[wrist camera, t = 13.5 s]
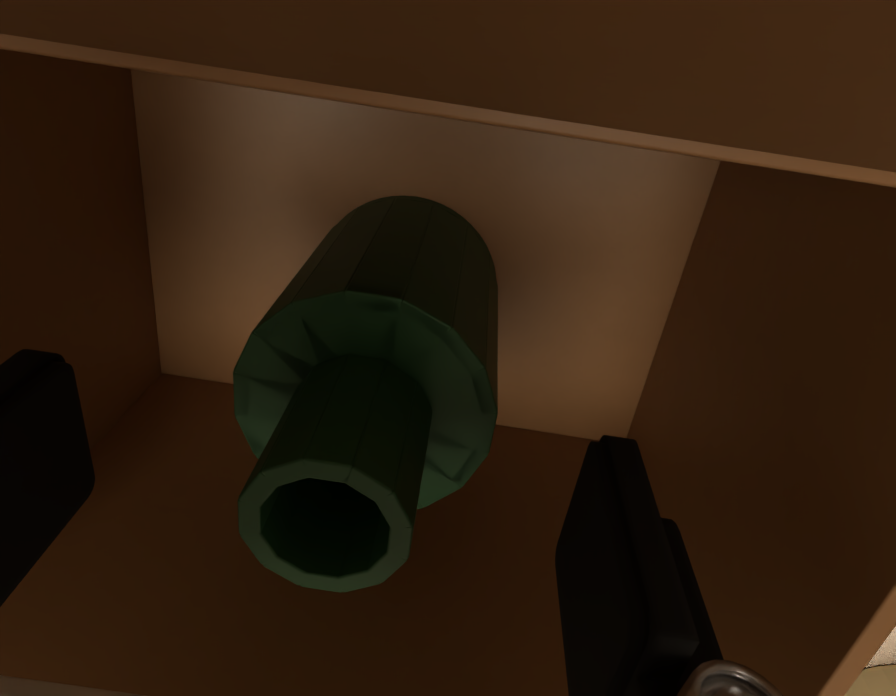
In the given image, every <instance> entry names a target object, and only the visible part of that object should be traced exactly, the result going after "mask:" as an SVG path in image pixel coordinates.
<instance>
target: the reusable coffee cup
mask: <svg viewBox="0 0 896 696" xmlns="http://www.w3.org/2000/svg"><path fill="white" fill-rule="evenodd" d="M844 696H896V665H887V666H878V667H873V668H868V669H863V671H862V672H861V674H860V675H859V676H858V678H857V679H856V680H855V682H854V683H853V684H852V686H851V687H850V689H849V690H848V691H847V693H846V694H845V695H844Z"/></svg>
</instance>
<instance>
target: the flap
mask: <svg viewBox="0 0 896 696" xmlns="http://www.w3.org/2000/svg"><path fill="white" fill-rule="evenodd" d="M0 34H6V35H13V36H19V37H26V38H32V39H38V40H45V41H51V42H58V43H64V44H71V45H77V46H84V47H90V48H96V49H103V50H109V51H116V52H122V53H129V54H135V55H142V56H148V57H154V58H161V59H167V60H174V61H180V62H187V63H193V64H200V65H206V66H212V67H219V68H225V69H232V70H238V71H245V72H251V73H258V74H264V75H270V76H277V77H283V78H290V79H296V80H303V81H309V82H316V83H322V84H328V85H335V86H341V87H348V88H354V89H361V90H367V91H374V92H380V93H386V94H393V95H399V96H406V97H412V98H419V99H425V100H432V101H438V102H444V103H451V104H457V105H464V106H470V107H477V108H483V109H490V110H496V111H502V112H509V113H515V114H522V115H528V116H535V117H541V118H548V119H554V120H560V121H567V122H573V123H580V124H586V125H593V126H599V127H606V128H612V129H618V130H625V131H631V132H638V133H644V134H651V135H657V136H664V137H670V138H677V139H683V140H689V141H696V142H702V143H709V144H715V145H722V146H728V147H735V148H741V149H747V150H754V151H760V152H767V153H773V154H780V155H786V156H793V157H799V158H805V159H812V160H818V161H825V162H831V163H838V164H844V165H851V166H857V167H863V168H870V169H876V170H883V171H889V172H896V0H0Z"/></svg>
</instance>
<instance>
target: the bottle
mask: <svg viewBox="0 0 896 696" xmlns="http://www.w3.org/2000/svg"><path fill="white" fill-rule="evenodd" d="M233 391H234V414H235V418H236V420H237V422H238V424H239V426H240V428H241V430H242V432H243V434H244V436H245V438H246V440H247V442H248V444H249V446H250V448H251V450H252V452H253V454H254V455H255V456H256V457H257V458H258V459H259V460H258V461H257V463H256V465H255V467H254V469H253V471H252V473H251V475H250V476H249V478H248V480H247V482H246V484H245V486H244V488H243V489H242V491H241V493H240V495H239V498H238V526H239V533H240V536H241V538H242V539H243V540H244V542H245V543H246V545H247V546H248V547H249V549H250V550H251V551H252V553H253V554H254V555H255V557H256V558H257V559H258V561H259V562H260V564H263V566H264V567H266V568H267V569H269V570H271V571H273V572H275V573H276V574H278V575H280V576H282V577H284V578H285V579H287V580H289V581H291V582H293V583H294V584H296V585H300V586H301V587H307V588H313V589H320V590H326V591H333V592H339V593H341V592H349V591H353V590H357V589H362V588H366V587H370V586H374V585H379V584H381V583H383V582H384V581H385V580H386V579H388V578H389V577H390V576H391V575H392V574H393V573H394V572H395V571H396V570H397V569H399V568H400V567H401V566H402V565H403V564H404V563H405V562H406V561H407V559H408V558H409V555H410V549H411V543H412V536H413V530H414V524H415V518H416V512H417V509H421V508H423V507H427V506H429V505H431V504H432V503H434V502H436V501H438V500H440V499H442V498H444V497H445V496H447V495H449V494H451V493H453V492H455V491H457V490H458V489H460V488H461V487H463V486H464V485H465V483H466V482H467V481H468V480H469V478H470V477H471V476H472V475H473V473H474V472H475V471H476V470H477V468H478V467H479V466H480V465H481V463H482V462H483V461H484V460H485V458H486V457H487V456H488V454H489V452H490V448H491V443H492V438H493V433H494V429H495V424H496V419H497V415H498V285H497V281H496V273H495V267H494V263H493V260H492V257H491V254H490V252H489V250H488V247H487V245H486V243H485V242H484V240H483V239H482V237H481V236H480V234H479V233H478V232H477V231H476V229H475V228H474V227H473V226H472V225H471V224H470V223H469V222H468V221H467V220H466V219H465V218H463V217H462V216H461V215H460V214H458V213H457V212H455V211H454V210H452V209H450V208H448V207H446V206H445V205H443V204H441V203H438V202H435V201H432V200H429V199H425V198H421V197H415V196H389V197H384V198H379V199H376V200H373V201H370V202H367V203H365V204H363V205H361V206H359V207H357V208H356V209H354V210H353V211H351V212H350V213H348V214H347V215H346V216H345V217H344V218H343V219H342V220H340V221H339V223H338V224H337V225H335V226H334V227H333V228H332V229H331V230H330V231H329V232H328V234H327V235H326V236H325V238H324V239H323V240H322V241H321V243H320V244H319V245H318V247H317V248H316V249H315V251H314V252H313V253H312V254H311V256H310V257H309V258H308V260H307V261H306V262H305V264H304V265H303V266H302V267H301V269H300V270H299V271H298V273H297V274H296V275H295V277H294V278H293V279H292V280H291V282H290V283H289V284H288V286H287V287H286V288H285V289H284V291H283V292H282V293H281V295H280V296H279V297H278V299H277V300H276V301H275V302H274V304H273V305H272V306H271V308H270V309H269V310H268V312H267V313H266V314H265V315H264V317H263V318H262V319H261V321H260V322H259V323H258V325H257V326H256V327H255V328H254V330H253V331H252V332H251V334H250V336H249V338H248V340H247V343H246V345H245V347H244V349H243V351H242V353H241V355H240V357H239V359H238V361H237V363H236V365H235V367H234V372H233Z"/></svg>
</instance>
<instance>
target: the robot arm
mask: <svg viewBox="0 0 896 696" xmlns="http://www.w3.org/2000/svg"><path fill="white" fill-rule="evenodd" d="M94 484H95V473H94V468H93V463H92V458H91V453H90V448H89V443H88V438H87V433H86V428H85V423H84V418H83V413H82V408H81V403H80V398H79V393H78V388H77V383H76V378H75V373H74V370H73V367H72V366H71V365H70V364H68V363H66V362H65V359H64V358H63V356H62V355H60V354H58V353H52V352H45V351H38V350H31V349H22V350H20V351H18V352H17V353H15V354H14V355H13V356H11V357H10V358H9V359H7V360H6V361H5V362H3V363H2V364H1V365H0V607H1V606H2V604H3V603H4V602H5V601H6V599H7V598H8V597H9V596H10V594H11V593H12V592H13V591H14V589H15V588H16V587H17V586H18V585H19V583H20V582H21V581H22V580H23V578H24V577H25V576H26V575H27V573H28V572H29V571H30V570H31V568H32V567H33V566H34V565H35V563H36V562H37V561H38V560H39V558H40V557H41V556H42V555H43V553H44V552H45V551H46V550H47V548H48V547H49V546H50V545H51V543H52V542H53V541H54V540H55V538H56V537H57V536H58V535H59V534H60V532H61V531H62V530H63V529H64V527H65V526H66V525H67V524H68V522H69V521H70V520H71V519H72V517H73V516H74V515H75V514H76V512H77V511H78V510H79V509H80V507H81V506H82V505H83V504H84V502H85V501H86V500H87V499H88V497H89V496H90V494H91V492H92V490H93V487H94ZM555 569H556V578H557V588H558V598H559V607H560V617H561V626H562V636H563V646H564V655H565V665H566V674H567V684H568V694H569V696H783V695H782V693H781V692H780V691H779V689H777V688H776V687H775V686H774V685H773V684H772V683H771V682H769V681H768V680H767V679H766V678H765V677H764V676H762V675H761V674H759V673H757V672H756V671H754V670H752V669H751V668H749V667H747V666H745V665H742V664H739V663H736V662H733V661H730V660H724V659H723V656H722V653H721V650H720V647H719V644H718V641H717V638H716V635H715V632H714V630H713V627H712V624H711V621H710V618H709V615H708V612H707V609H706V606H705V603H704V600H703V597H702V594H701V592H700V589H699V586H698V583H697V580H696V577H695V574H694V571H693V568H692V565H691V562H690V559H689V556H688V553H687V551H686V548H685V545H684V542H683V539H682V536H681V533H680V530H679V528H678V526H677V524H676V522H674V521H673V520H672V519H667V518H661V517H660V514H659V510H658V507H657V504H656V501H655V498H654V494H653V491H652V488H651V485H650V482H649V479H648V475H647V472H646V469H645V466H644V463H643V459H642V456H641V453H640V450H639V447H638V444H637V442H636V440H634V439H629V438H622V437H616V436H609V435H603V436H602V437H601V438H600V441H599V442H595V441H591V442H590V443H589V445H588V448H587V451H586V454H585V457H584V460H583V464H582V467H581V470H580V473H579V476H578V479H577V482H576V486H575V489H574V492H573V495H572V498H571V501H570V505H569V508H568V511H567V514H566V517H565V520H564V524H563V527H562V530H561V533H560V536H559V539H558V542H557V546H556V553H555ZM0 696H145V695H138V694H131V693H124V692H117V691H110V690H103V689H96V688H89V687H82V686H75V685H68V684H60V683H53V682H46V681H39V680H32V679H24V678H17V677H10V676H3V675H0Z"/></svg>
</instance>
